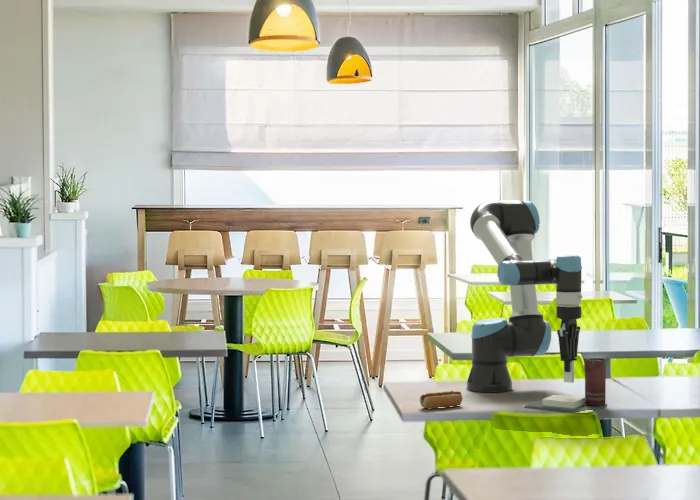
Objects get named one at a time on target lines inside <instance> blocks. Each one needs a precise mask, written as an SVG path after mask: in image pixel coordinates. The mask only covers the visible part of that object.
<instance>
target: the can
mask: <svg viewBox="0 0 700 500" xmlns="http://www.w3.org/2000/svg"><path fill="white" fill-rule="evenodd" d="M583 368H584V398H585V404H586V405H587V406H592V407H601V406H604V405H605V403H606V397H607V396H606V393H607V391H606V390H607V389H606V387H607V386H606V385H607V384H606V380H607V379H606V375H607V374H606V373H607V372H606V361H605V359H604V358H586V359H584V364H583Z"/></svg>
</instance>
